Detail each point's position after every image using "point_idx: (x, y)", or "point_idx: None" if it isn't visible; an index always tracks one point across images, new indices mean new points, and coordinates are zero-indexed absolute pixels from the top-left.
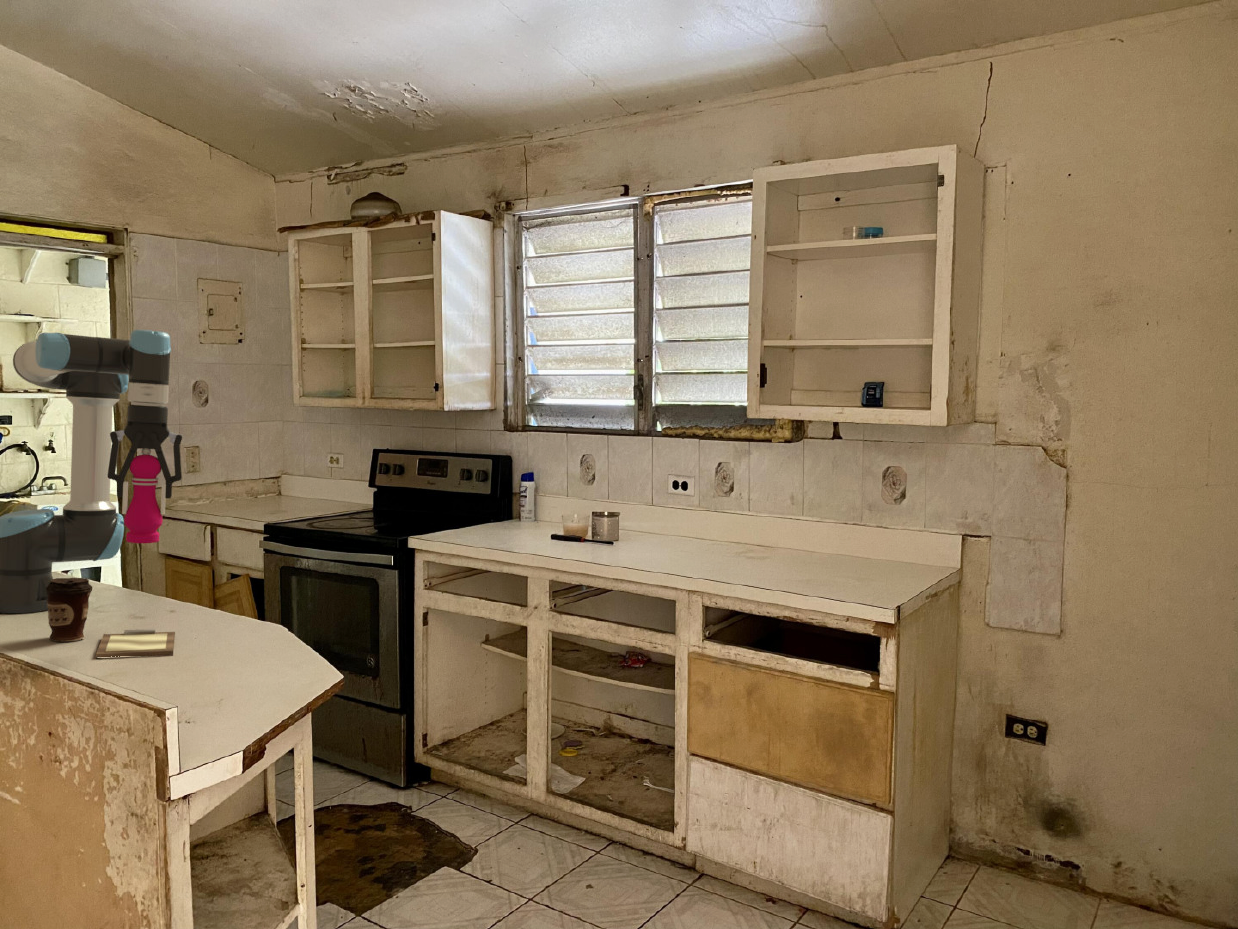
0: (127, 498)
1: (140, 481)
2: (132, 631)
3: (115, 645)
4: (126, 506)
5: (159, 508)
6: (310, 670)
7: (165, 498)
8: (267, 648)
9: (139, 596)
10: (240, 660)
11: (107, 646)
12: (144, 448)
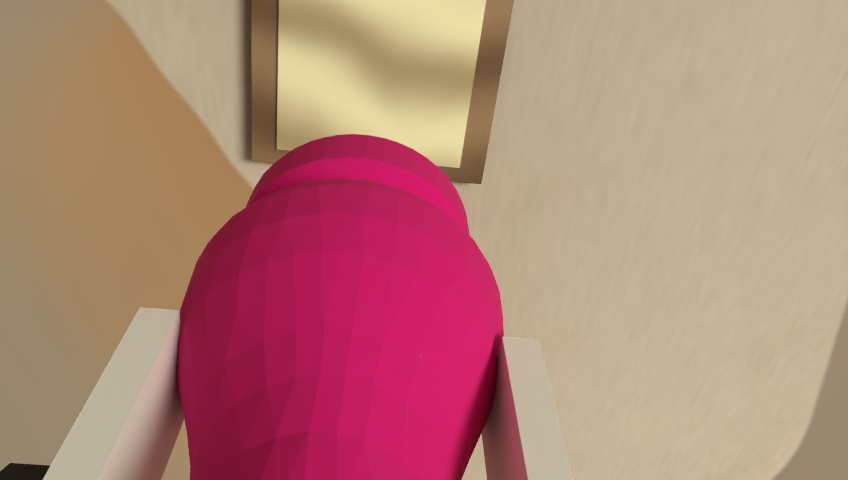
0: (128, 441)
1: None
2: None
3: (305, 81)
4: (164, 467)
5: (480, 432)
6: (774, 399)
7: (564, 470)
8: (774, 174)
9: None
10: (648, 277)
11: (279, 88)
12: None
